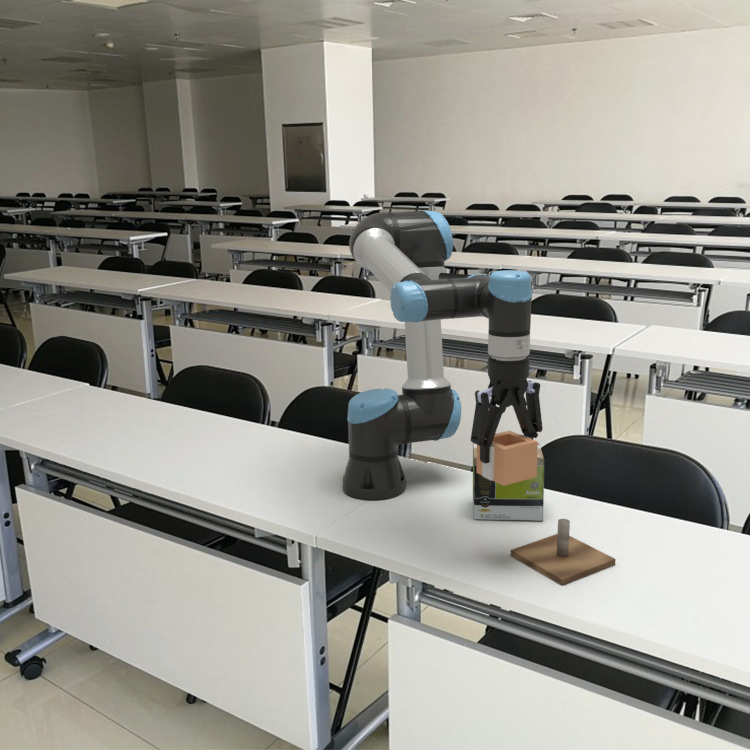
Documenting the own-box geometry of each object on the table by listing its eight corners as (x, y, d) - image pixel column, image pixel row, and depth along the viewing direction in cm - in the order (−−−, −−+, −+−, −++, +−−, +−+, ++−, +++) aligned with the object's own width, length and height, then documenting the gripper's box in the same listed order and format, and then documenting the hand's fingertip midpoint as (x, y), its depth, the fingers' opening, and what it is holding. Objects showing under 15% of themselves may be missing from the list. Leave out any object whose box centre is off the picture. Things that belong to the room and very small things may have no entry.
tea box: (538, 503, 181) (541, 441, 177) (543, 522, 171) (545, 457, 167) (471, 501, 182) (472, 440, 179) (472, 520, 173) (473, 456, 169)
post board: (510, 555, 157) (511, 517, 155) (562, 537, 164) (563, 500, 162) (562, 585, 145) (564, 544, 143) (615, 564, 153) (617, 525, 151)
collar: (476, 472, 153) (476, 438, 151) (509, 464, 157) (509, 430, 155) (503, 485, 146) (504, 449, 144) (536, 476, 150) (537, 441, 148)
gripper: (475, 368, 138) (474, 491, 143) (565, 352, 148) (561, 468, 153) (450, 360, 144) (450, 478, 149) (538, 345, 154) (534, 457, 160)
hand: (506, 473), depth 151 cm, fingers closed on collar, 8 cm apart
